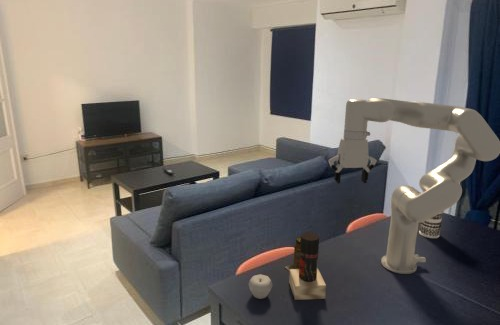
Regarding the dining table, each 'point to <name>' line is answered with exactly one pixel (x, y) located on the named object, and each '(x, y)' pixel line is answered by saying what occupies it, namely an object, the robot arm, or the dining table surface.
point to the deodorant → (308, 256)
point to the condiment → (296, 255)
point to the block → (306, 286)
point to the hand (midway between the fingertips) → (350, 182)
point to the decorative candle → (431, 227)
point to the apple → (260, 286)
